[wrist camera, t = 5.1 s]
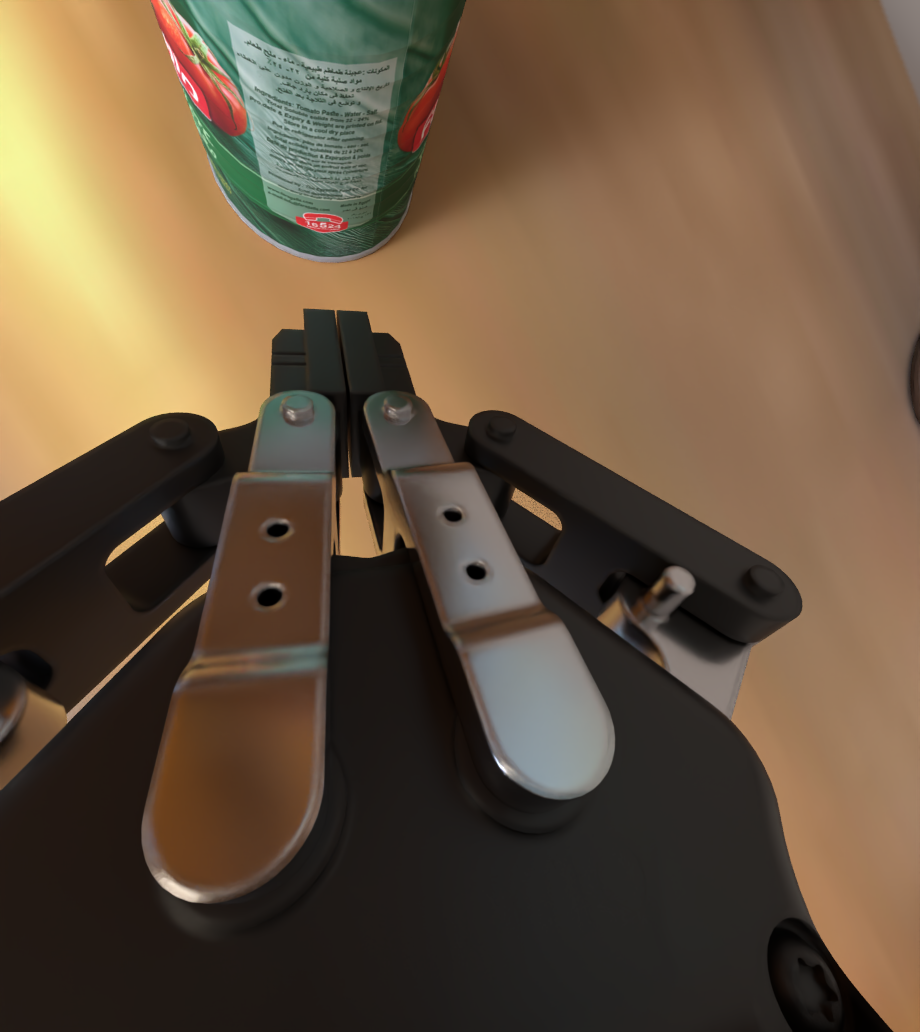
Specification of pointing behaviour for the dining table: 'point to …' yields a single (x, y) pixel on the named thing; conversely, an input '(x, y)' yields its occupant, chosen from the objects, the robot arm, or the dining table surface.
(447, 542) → the robot arm
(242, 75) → the canned tomato
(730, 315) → the dining table surface
